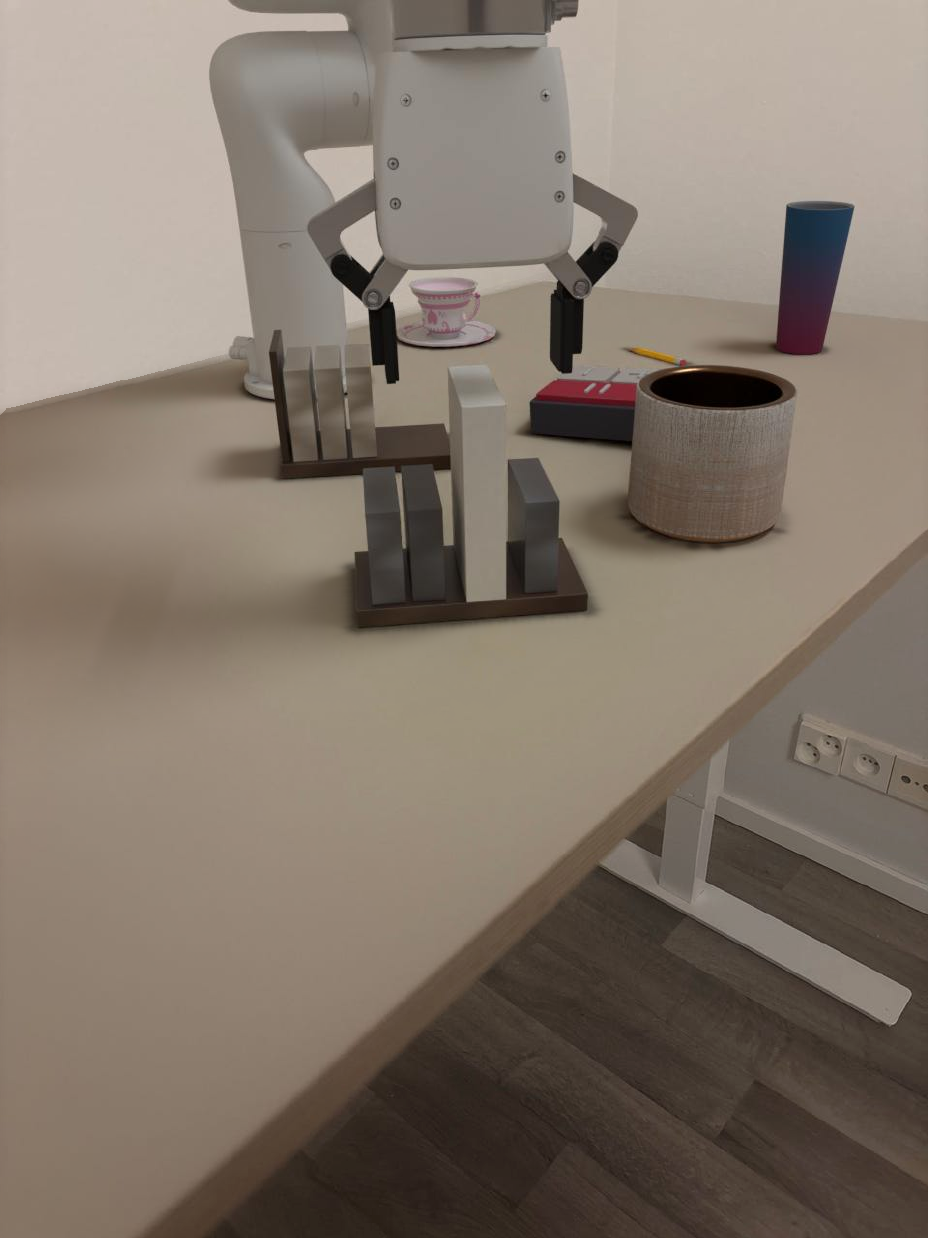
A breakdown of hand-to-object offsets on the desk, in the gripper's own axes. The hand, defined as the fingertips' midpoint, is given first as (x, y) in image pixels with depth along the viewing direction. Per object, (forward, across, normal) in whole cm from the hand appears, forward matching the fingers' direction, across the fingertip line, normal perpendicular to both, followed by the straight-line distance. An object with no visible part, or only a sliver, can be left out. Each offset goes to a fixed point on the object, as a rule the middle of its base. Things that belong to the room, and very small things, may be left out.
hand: (476, 372), depth 55 cm
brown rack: (+14, +7, -25) cm, 29 cm away
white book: (+13, 0, 0) cm, 13 cm away
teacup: (+13, -4, -65) cm, 66 cm away
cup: (+14, -42, -51) cm, 68 cm away
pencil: (+14, -26, -51) cm, 59 cm away
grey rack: (+14, +1, 0) cm, 14 cm away
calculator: (+14, -17, -29) cm, 37 cm away
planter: (+14, -17, -9) cm, 24 cm away
